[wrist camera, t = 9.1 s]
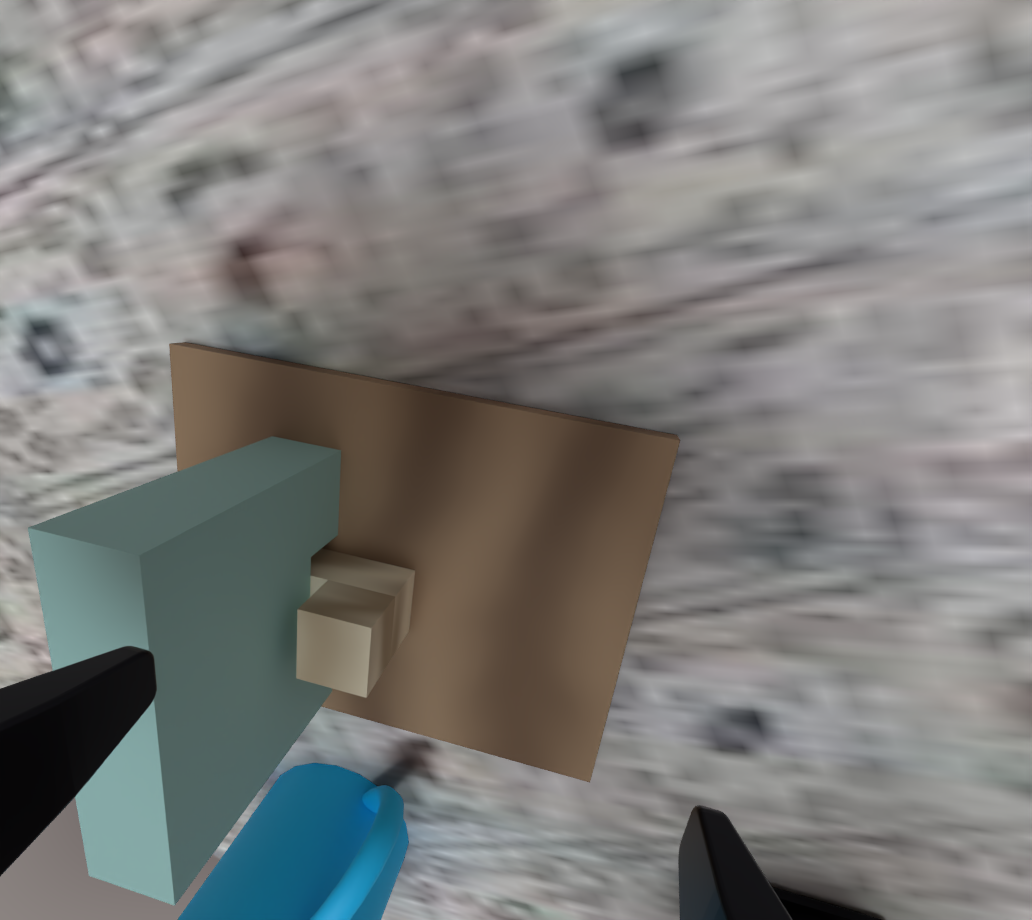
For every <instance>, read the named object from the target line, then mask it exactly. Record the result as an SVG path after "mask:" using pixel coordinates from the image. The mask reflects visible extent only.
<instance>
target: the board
mask: <svg viewBox="0 0 1032 920" xmlns="http://www.w3.org/2000/svg"><path fill="white" fill-rule="evenodd" d="M169 346H170V361H171V377H172V392H173V407H174V423H175V438H176V454H177V469H178V471H181V470H183V469H186V468H189V467H191V466H194V465H197V464H199V463H202V462H205V461H207V460H210V459H213V458H216V457H218V456H221V455H224V454H226V453H229V452H232V451H234V450H237V449H240V448H242V447H245V446H248V445H250V444H253V443H256V442H258V441H261V440H264V439H266V438H269V437H272V436H273V437H278V438H283V439H288V440H293V441H298V442H303V443H308V444H312V445H317V446H322V447H327V448H332V449H337V450H341V467H340V493H339V519H338V535H337V536H336V537H335V538H334V539H332V540H331V541H330V542H329V543H327V544H326V545H325V546H324V547H323V549H327V550H331V551H335V552H340V553H344V554H348V555H352V556H356V557H360V558H365V559H369V560H373V561H377V562H381V563H386V564H390V565H394V566H398V567H402V568H407V569H411V570H415V576H414V586H413V596H412V606H411V616H410V626H409V632H408V633H407V635H406V636H405V638H404V639H403V641H402V643H401V644H400V646H399V647H398V649H397V651H396V652H395V654H394V655H393V657H392V658H391V660H390V662H389V663H388V665H387V666H386V668H385V669H384V671H383V673H382V674H381V676H380V677H379V679H378V680H377V682H376V684H375V685H374V687H373V688H372V690H371V692H370V693H369V695H368V696H367V698H365V697H361V696H358V695H354V694H351V693H347V692H343V691H340V690H336V689H333V688H332V692H331V694H330V695H329V696H328V698H327V699H326V700H325V702H324V703H323V704H322V707H325V708H329V709H332V710H336V711H339V712H343V713H346V714H350V715H353V716H357V717H360V718H364V719H368V720H371V721H375V722H378V723H382V724H385V725H389V726H392V727H396V728H399V729H403V730H406V731H410V732H414V733H417V734H421V735H424V736H428V737H431V738H435V739H438V740H442V741H445V742H449V743H452V744H456V745H460V746H463V747H467V748H470V749H474V750H477V751H481V752H484V753H488V754H491V755H495V756H499V757H502V758H506V759H509V760H513V761H516V762H520V763H523V764H527V765H530V766H534V767H537V768H541V769H545V770H548V771H552V772H555V773H559V774H562V775H566V776H569V777H573V778H576V779H580V780H583V781H587V782H590V780H591V776H592V772H593V768H594V765H595V761H596V757H597V753H598V749H599V746H600V742H601V738H602V734H603V730H604V727H605V723H606V719H607V715H608V712H609V708H610V704H611V700H612V696H613V693H614V689H615V685H616V681H617V677H618V674H619V670H620V666H621V662H622V659H623V655H624V651H625V647H626V643H627V640H628V636H629V632H630V628H631V625H632V621H633V617H634V613H635V609H636V606H637V602H638V598H639V594H640V590H641V587H642V583H643V579H644V575H645V572H646V568H647V564H648V560H649V556H650V553H651V549H652V545H653V541H654V537H655V534H656V530H657V526H658V522H659V519H660V515H661V511H662V507H663V503H664V500H665V496H666V492H667V488H668V484H669V481H670V477H671V473H672V469H673V466H674V462H675V458H676V454H677V450H678V447H679V443H680V439H679V437H678V436H677V435H674V434H669V433H663V432H658V431H653V430H647V429H642V428H637V427H631V426H626V425H621V424H616V423H610V422H605V421H600V420H594V419H589V418H584V417H578V416H573V415H568V414H563V413H557V412H552V411H547V410H541V409H536V408H531V407H525V406H520V405H515V404H509V403H504V402H499V401H494V400H488V399H483V398H478V397H472V396H467V395H462V394H456V393H451V392H446V391H441V390H435V389H430V388H425V387H419V386H414V385H409V384H403V383H398V382H393V381H388V380H382V379H377V378H372V377H366V376H361V375H356V374H350V373H345V372H340V371H334V370H329V369H324V368H319V367H313V366H308V365H303V364H297V363H292V362H287V361H281V360H276V359H271V358H266V357H260V356H255V355H250V354H244V353H239V352H234V351H228V350H223V349H218V348H213V347H207V346H202V345H197V344H191V343H186V342H184V343H172V344H169Z"/></svg>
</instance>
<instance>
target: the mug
mask: <svg viewBox="0 0 1032 920" xmlns="http://www.w3.org/2000/svg"><path fill="white" fill-rule="evenodd" d="M403 810H404V803H403V799H402V798H401V796H400V795H399V794H398V793H397V792H396V791H395V790H394V789H393V788H392V787H390V786H387V785H382V786H379V787H378V786H376V785H375V784H373V783H372V782H370V781H369V780H367V779H366V778H364V777H363V776H361V775H360V774H357V773H355V772H352V771H350V770H347V769H344V768H342V767H339V766H336V765H327V764H319V763H311V764H306V765H300V766H295V767H293V768H292V769H290V770H288V771H287V772H285V773H283V774H282V775H280V777H279V778H278V780H277V781H276V782H275V784H274V785H273V787H272V788H271V789H270V791H269V792H268V794H267V795H266V796H265V798H264V799H263V801H262V802H261V803H260V805H259V806H258V808H257V809H256V810H255V812H254V813H253V815H252V816H251V817H250V819H249V820H248V822H247V823H246V824H245V826H244V827H243V829H242V830H241V831H240V833H239V834H238V836H237V837H236V838H235V840H234V841H233V843H232V844H231V845H230V847H229V848H228V850H227V851H226V852H225V854H224V855H223V857H222V858H221V859H220V861H219V862H218V864H217V865H216V867H215V868H214V869H213V871H212V872H211V873H210V875H209V876H208V878H207V879H206V880H205V882H204V883H203V885H202V886H201V888H200V889H199V890H198V892H197V893H196V894H195V896H194V897H193V899H192V900H191V901H190V903H189V904H188V906H187V907H186V909H185V910H184V911H183V913H182V914H181V915H180V917H179V918H178V920H381V918H382V915H383V913H384V910H385V908H386V905H387V902H388V900H389V897H390V894H391V892H392V889H393V887H394V884H395V881H396V879H397V876H398V873H399V871H400V868H401V865H402V863H403V860H404V858H405V854H406V850H407V846H408V843H409V841H408V834H407V828H406V823H405V821H404V819H403Z"/></svg>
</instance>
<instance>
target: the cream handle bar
mask: <svg viewBox="0 0 1032 920" xmlns="http://www.w3.org/2000/svg"><path fill="white" fill-rule="evenodd" d="M414 576H415V570H411V569H407V568H402V567H398V566H394V565H390V564H386V563H381V562H377V561H373V560H369V559H365V558H360V557H356V556H352V555H348V554H344V553H340V552H335V551H331V550H327V549H323V548H321V549H320V550H319V551H318V552H317V553H315V554H314V555H313V556H312V557H311V577H310V598H309V599H308V600H307V601H306V602H304V603H303V604H302V605H301V606H300V607H299V608H298V609H297V668H296V679H300V680H304V681H307V682H311V683H314V684H318V685H322V686H325V687H329V688H333V689H336V690H340V691H343V692H347V693H351V694H354V695H358V696H361V697H365V698H367V696H368V695H369V693H370V692H371V690H372V688H373V687H374V685H375V684H376V682H377V680H378V679H379V677H380V676H381V674H382V673H383V671H384V669H385V668H386V666H387V665H388V663H389V662H390V660H391V658H392V657H393V655H394V654H395V652H396V651H397V649H398V647H399V646H400V644H401V643H402V641H403V639H404V638H405V636H406V635H407V633H408V632H409V626H410V616H411V606H412V596H413V586H414Z"/></svg>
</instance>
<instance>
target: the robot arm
mask: <svg viewBox="0 0 1032 920" xmlns="http://www.w3.org/2000/svg"><path fill="white" fill-rule="evenodd" d="M156 692H157V682H156V671H155V660H154V655H153V654H152V653H151V652H150V651H148V650H145V649H141V648H138V647H134V646H124V647H121V648H118V649H115V650H112V651H109V652H106V653H103V654H100V655H97V656H94V657H91V658H89V659H86V660H83V661H80V662H77V663H74V664H71V665H68V666H65V667H62V668H59V669H56V670H54V671H51V672H48V673H45V674H42V675H39V676H36V677H33V678H30V679H27V680H24V681H21V682H18V683H16V684H13V685H10V686H7V687H4V688H1V689H0V876H1V875H2V874H3V873H4V872H5V871H6V870H7V868H9V867H10V865H11V864H12V863H13V862H14V861H15V860H16V859H17V858H18V857H19V856H20V855H21V854H22V853H23V852H24V851H25V850H26V848H27V847H28V846H29V845H30V844H31V843H32V842H33V841H34V840H35V839H36V838H37V837H38V836H39V835H40V833H42V832H43V830H45V828H46V827H47V826H48V825H49V824H50V823H51V822H52V821H53V820H54V819H55V818H56V817H57V816H58V815H59V813H61V811H62V810H63V809H64V808H65V807H66V806H67V805H68V804H69V803H70V802H71V801H72V800H73V798H74V797H75V796H76V795H77V794H78V793H79V792H80V790H81V789H82V788H83V787H84V786H85V784H86V783H87V782H88V781H89V780H90V779H91V777H92V776H93V775H94V774H95V772H96V771H97V770H98V769H99V768H100V766H101V765H102V764H103V763H104V761H105V760H106V759H107V758H108V757H109V755H110V754H111V753H112V752H113V750H114V749H115V748H116V747H117V746H118V744H119V743H120V742H121V741H122V739H123V738H124V737H125V736H126V734H127V733H128V732H129V731H130V730H131V728H132V727H133V726H134V725H135V723H136V722H137V721H138V720H139V719H140V717H141V716H142V715H143V714H144V712H145V711H146V710H147V709H148V707H149V706H150V705H151V703H152V702H153V700H154V698H155V695H156ZM678 864H679V903H680V920H881V919H878V918H875V917H871V916H868V915H864V914H861V913H858V912H854V911H851V910H848V909H844V908H841V907H837V906H834V905H831V904H827V903H824V902H821V901H817V900H814V899H810V898H807V897H804V896H800V895H797V894H793V893H790V892H787V891H783V890H780V889H777V888H773V887H772V886H771V885H770V883H769V882H768V880H767V879H766V877H765V875H764V874H763V872H762V871H761V869H760V867H759V866H758V864H757V863H756V861H755V859H754V858H753V856H752V855H751V853H750V852H749V850H748V848H747V847H746V845H745V844H744V842H743V840H742V839H741V837H740V836H739V834H738V832H737V831H736V829H735V828H734V826H733V825H732V823H731V821H730V820H729V818H728V817H727V816H726V815H725V814H724V813H723V812H721V811H718V810H715V809H711V808H708V807H704V806H701V805H697V806H695V807H694V808H693V810H692V812H691V815H690V818H689V821H688V823H687V826H686V829H685V832H684V834H683V837H682V840H681V843H680V848H679V859H678Z"/></svg>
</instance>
